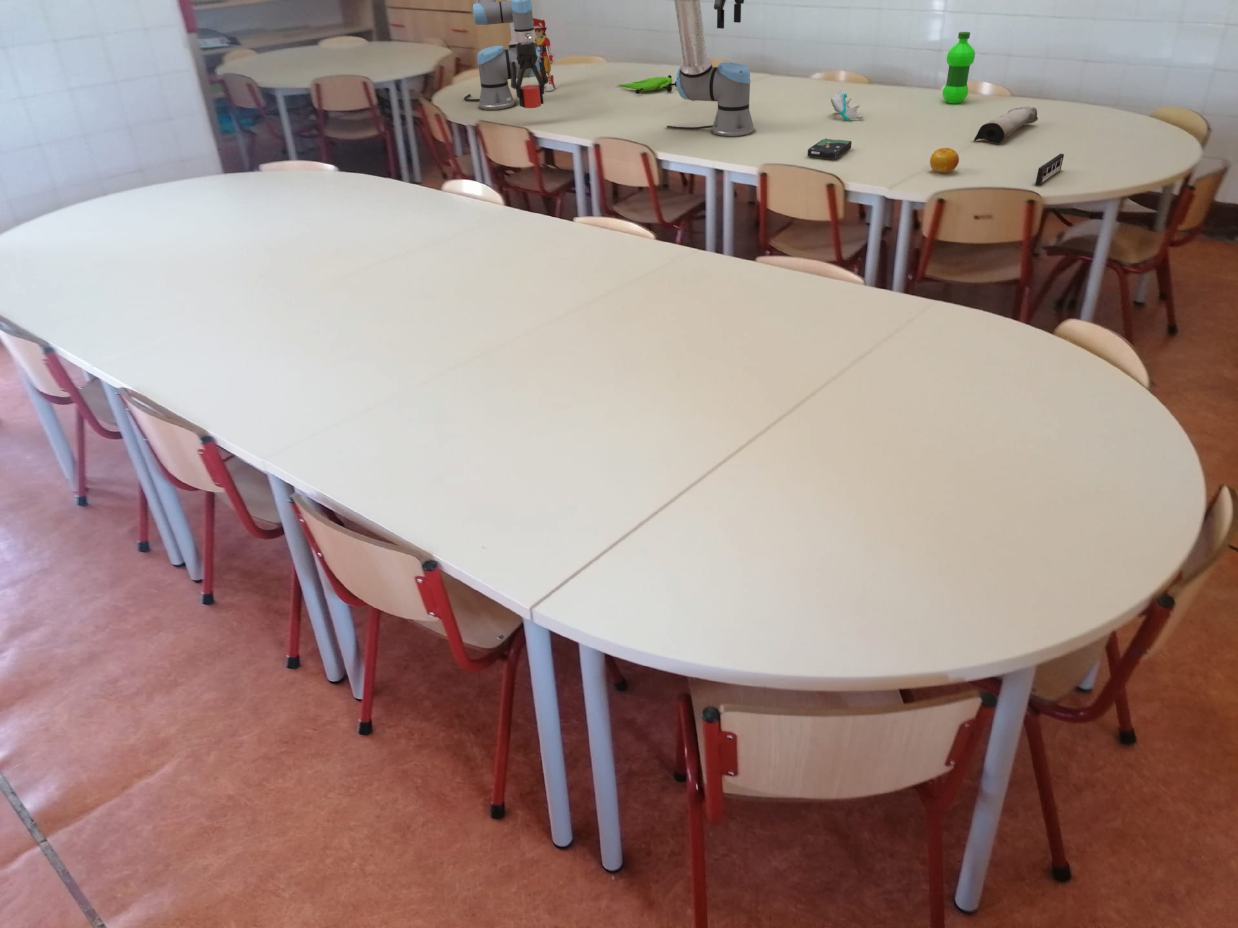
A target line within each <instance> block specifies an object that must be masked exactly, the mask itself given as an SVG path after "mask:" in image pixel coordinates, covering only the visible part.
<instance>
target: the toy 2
mask: <svg viewBox="0 0 1238 928" xmlns="http://www.w3.org/2000/svg"><path fill="white" fill-rule="evenodd" d="M673 80H674V79H673V77H672V75H671V74H668V75H667V76H656V77H651V78H649V77H648V78H646V79H642V80H638V81H632V82H630V83H621V84H617V86H618V87H623V88H625V89H631V90H635V94H637V95H638V94H640V92H642V91H647V92H649V91H654V90H666V92H668V93H672V91H673V86H675V88H677V85H676V81H674V82H673Z"/></svg>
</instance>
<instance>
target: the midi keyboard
mask: <svg viewBox="0 0 1238 928" xmlns="http://www.w3.org/2000/svg"><path fill="white" fill-rule="evenodd" d="M1064 157H1065V153H1059V154H1058V155H1056V156H1055V157H1052V159H1051V160H1049V161H1047V162H1045V164H1042V165H1041V166H1039V167H1038V169H1037V175H1036V179H1035V186H1040V185H1042V183H1044V182H1045V181H1047V180H1048V179H1049V178H1051V177H1052V176H1054V175H1055V174H1056V173H1058V172H1060V171H1061V170H1062V165H1063V161H1064Z"/></svg>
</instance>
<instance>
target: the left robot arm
mask: <svg viewBox="0 0 1238 928" xmlns="http://www.w3.org/2000/svg"><path fill="white" fill-rule="evenodd" d="M472 12H473V20H474V24H475V25H477V26H489V25H498V24H508V23H509V28H510V29H509V30H510V37H511V40H510V42H509V43H508V48H507V49H505V47H504V45H494V46H488V47H485V48H483V49H481V50H480V51H478V53H477V56H476V57H477V66H478V72H479V73H478V74H479V82H480V95H479V98H469V97H471V93H469V94H467V95H465V96H464V97H463V99H464V101H468V102H478V106H479V109H480V110H484V111H500V110H506V109H510V108H512V107H514V106H515V99H514V97H513V95H512V92H511V89H510V87H511V88H512V89H513V90H515V91H516V97H517V99H518V100H519V106H520V107H522V108H524V99H523V90H522V89H521V87H522V84H523V80H524V79H526V78H527V79H530V78H536V80H537V83H539V85H538V86H539V87H540V97H541V105H543V104H544V95H545V86H546V85H547V84H549V82H548V79H547V77H548V75H547V73H546V70H545V65H544V57H542V56H540V47H538V46H537V47H536V42H535V36H536V35H535V30H534V27H533V18H534V15H533V4H532V0H505V1H497V0H476V3H474V4H473V5H472ZM540 70H541V75H542V78H541V76H540V74H539V73H540ZM542 79H543V80H542ZM508 80H510V86H509V81H508Z"/></svg>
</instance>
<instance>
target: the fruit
mask: <svg viewBox="0 0 1238 928" xmlns="http://www.w3.org/2000/svg"><path fill="white" fill-rule="evenodd" d="M959 163H960V156H959V154H958V152H957V151H956V150H955V149H953V148H951V147H942V148H938V149H936V150H934V151H933V153H932V154H931V155H930V159H929V166H930V168H931V169H932V170H933V171H934V172H936V173H939V174H940V173H943V174H944V173H945V174H946V173H951V172H953V171H954V170H956V168H957V167H958V165H959Z"/></svg>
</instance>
